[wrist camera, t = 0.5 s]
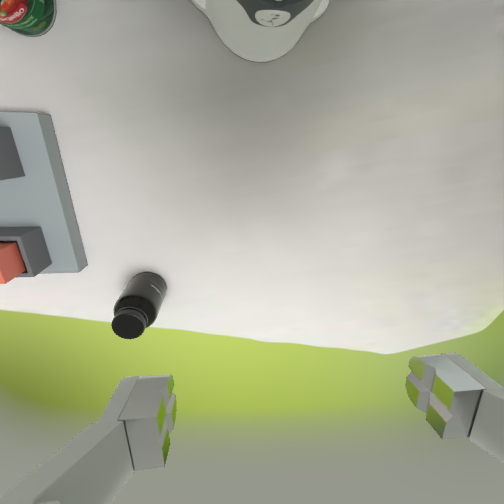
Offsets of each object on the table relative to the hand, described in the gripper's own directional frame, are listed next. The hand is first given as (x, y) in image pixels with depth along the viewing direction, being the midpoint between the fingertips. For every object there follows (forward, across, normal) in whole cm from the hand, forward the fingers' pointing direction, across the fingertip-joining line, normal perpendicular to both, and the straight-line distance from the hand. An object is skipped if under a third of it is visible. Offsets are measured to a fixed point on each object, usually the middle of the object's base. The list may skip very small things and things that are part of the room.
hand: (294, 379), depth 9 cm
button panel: (+38, +35, -4) cm, 51 cm away
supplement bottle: (+40, +19, +13) cm, 46 cm away
